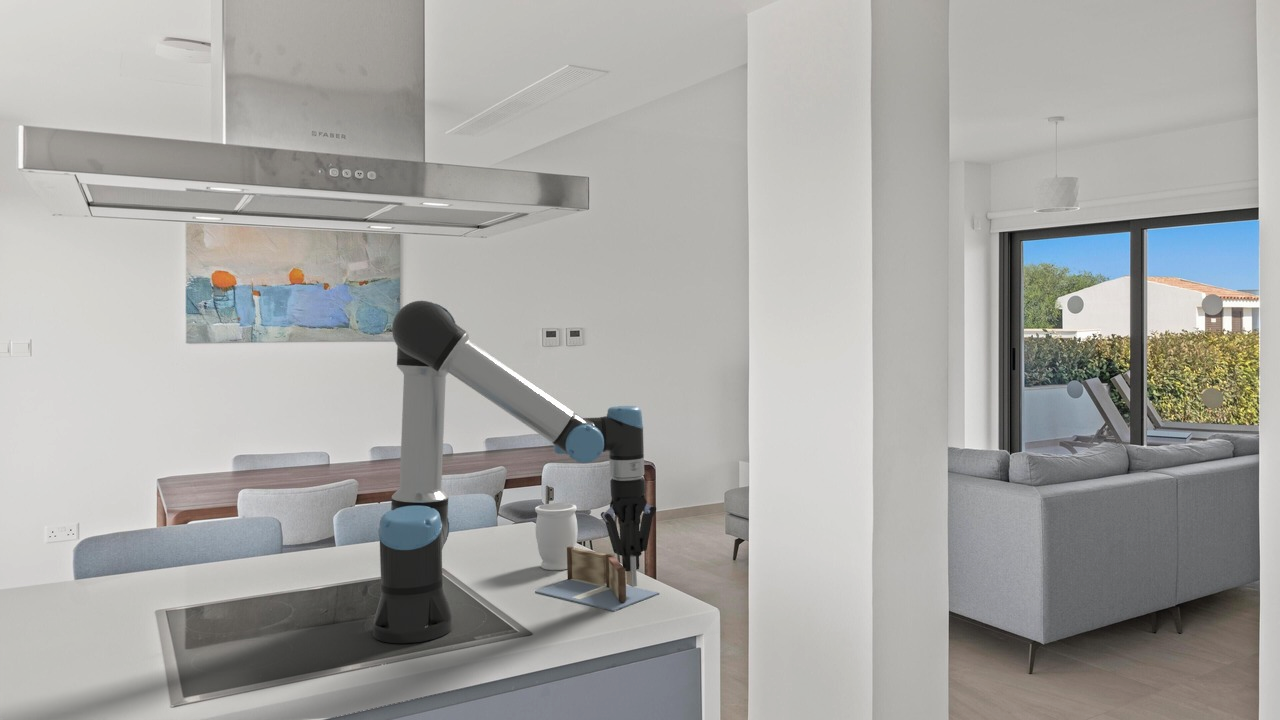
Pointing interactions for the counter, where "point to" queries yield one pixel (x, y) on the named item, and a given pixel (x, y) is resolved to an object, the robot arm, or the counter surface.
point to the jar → (555, 533)
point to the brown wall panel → (588, 565)
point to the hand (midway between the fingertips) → (631, 584)
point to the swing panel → (617, 579)
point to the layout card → (595, 594)
